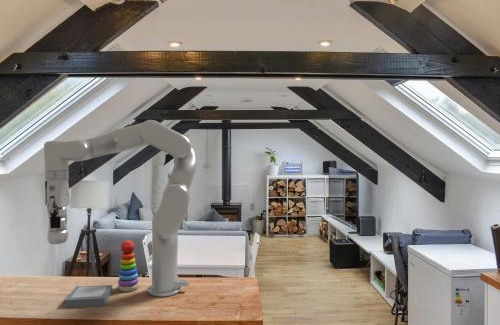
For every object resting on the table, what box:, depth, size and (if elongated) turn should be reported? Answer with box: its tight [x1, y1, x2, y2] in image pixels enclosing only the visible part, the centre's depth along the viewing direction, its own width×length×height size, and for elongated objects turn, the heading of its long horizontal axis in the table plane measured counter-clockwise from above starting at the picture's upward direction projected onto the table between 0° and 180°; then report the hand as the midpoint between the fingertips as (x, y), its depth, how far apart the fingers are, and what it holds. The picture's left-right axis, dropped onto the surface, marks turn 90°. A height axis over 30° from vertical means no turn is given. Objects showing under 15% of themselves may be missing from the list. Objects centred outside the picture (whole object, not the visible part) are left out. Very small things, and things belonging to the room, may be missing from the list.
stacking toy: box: [117, 239, 140, 292], centre depth 145 cm, size 8×8×19 cm
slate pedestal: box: [64, 284, 113, 308], centre depth 134 cm, size 13×13×3 cm
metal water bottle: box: [45, 202, 69, 245], centre depth 133 cm, size 6×7×20 cm
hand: (58, 225), depth 133 cm, fingers closed on metal water bottle, 5 cm apart
